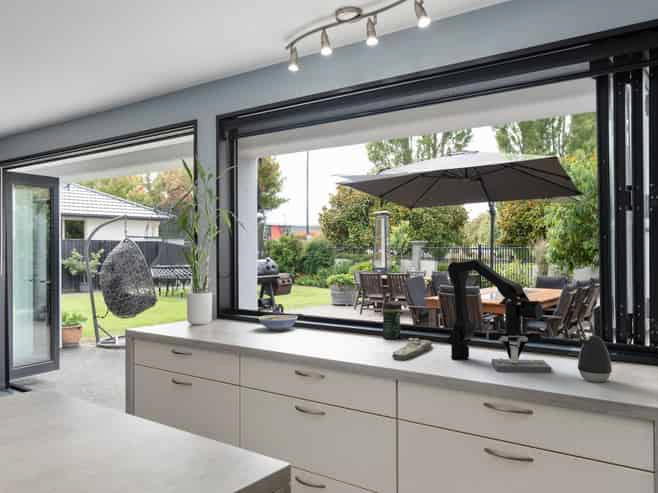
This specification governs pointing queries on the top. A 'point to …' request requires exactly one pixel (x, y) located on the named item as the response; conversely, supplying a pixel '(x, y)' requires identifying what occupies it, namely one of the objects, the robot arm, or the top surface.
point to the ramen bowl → (278, 321)
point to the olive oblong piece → (412, 349)
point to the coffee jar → (391, 320)
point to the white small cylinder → (514, 354)
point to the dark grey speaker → (594, 360)
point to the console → (521, 366)
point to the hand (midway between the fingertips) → (513, 358)
